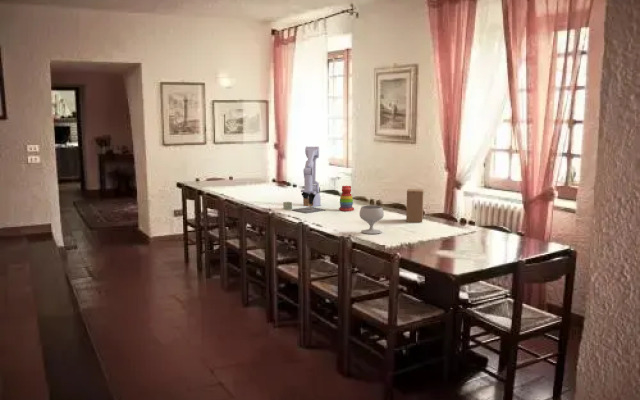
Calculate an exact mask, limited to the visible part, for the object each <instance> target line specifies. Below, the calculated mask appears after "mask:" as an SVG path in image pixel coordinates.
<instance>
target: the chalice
mask: <svg viewBox="0 0 640 400" xmlns="http://www.w3.org/2000/svg"><path fill="white" fill-rule="evenodd" d="M384 216H385V214H384V209H383V207H382V206H380V205H374V204H373V205H372V204H371V205H370V204H369V205H362V206H361V207H360V210H359V218H360V219H361V220H363V221H365V222H366V223H368V225H369V227H368V228H367V229H362V230H361V231H360V232H361V233H362V234H368V235H377V234H381V233H382V230H380V229H375V228H374V225H375V224H376V223H377V222H379V221H381V220H382V219H383V218H384Z"/></svg>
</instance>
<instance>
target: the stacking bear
mask: <svg viewBox="0 0 640 400" xmlns="http://www.w3.org/2000/svg"><path fill="white" fill-rule="evenodd" d="M341 192H342V193H341V194H340V198H339V205H340V207H339V208H338V211H340V212H353V211H354V210H355V207H354V206H353V205H354V198H353V195H352V193H351V192H352V185H342V186H341Z"/></svg>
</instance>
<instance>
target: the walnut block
mask: <svg viewBox="0 0 640 400" xmlns="http://www.w3.org/2000/svg"><path fill="white" fill-rule="evenodd" d="M302 199H303V198H302ZM302 203H303V204H302V205H303V207H314V206H313V204H310V202H309V198H305V199H303V202H302Z"/></svg>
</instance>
